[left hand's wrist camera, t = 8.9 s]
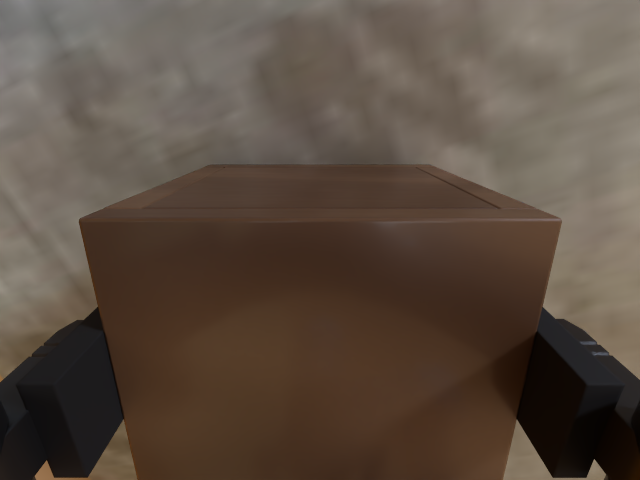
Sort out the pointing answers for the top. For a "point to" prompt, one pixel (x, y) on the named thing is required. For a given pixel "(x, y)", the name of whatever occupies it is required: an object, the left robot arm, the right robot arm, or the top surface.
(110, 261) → the cabinet
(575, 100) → the top surface
